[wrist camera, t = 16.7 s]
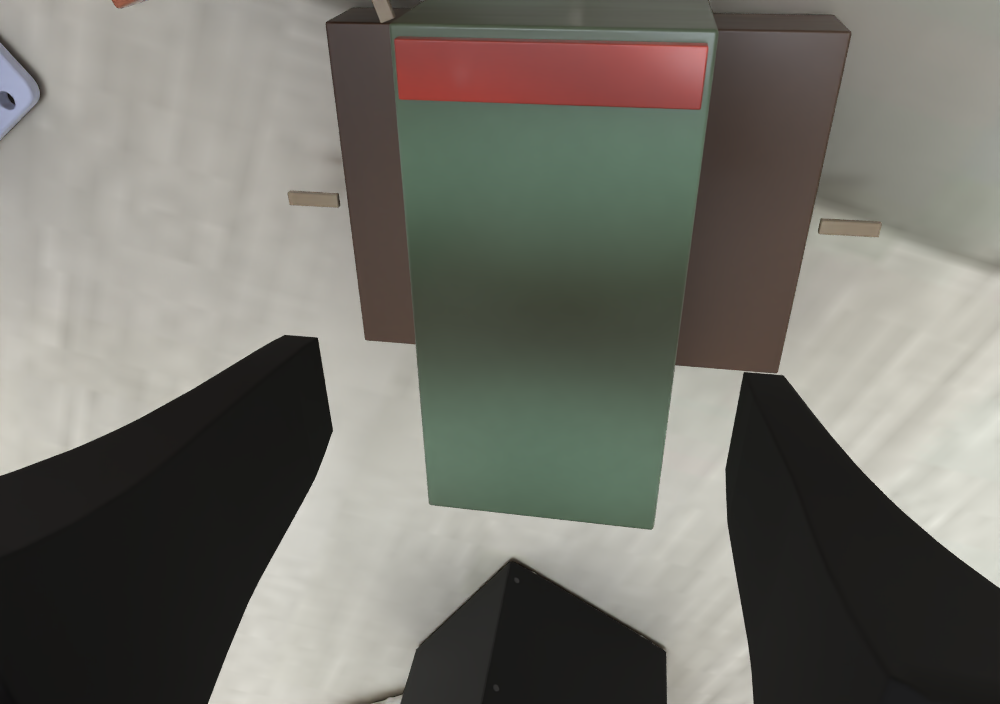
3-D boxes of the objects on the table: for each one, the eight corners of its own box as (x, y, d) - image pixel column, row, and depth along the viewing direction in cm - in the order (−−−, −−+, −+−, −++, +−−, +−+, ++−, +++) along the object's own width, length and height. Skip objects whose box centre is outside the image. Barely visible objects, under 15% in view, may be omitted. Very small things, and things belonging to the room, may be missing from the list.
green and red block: (654, 394, 23) (653, 538, 18) (472, 378, 24) (426, 513, 19) (703, -21, 17) (720, 32, 12) (457, -23, 18) (383, 25, 13)
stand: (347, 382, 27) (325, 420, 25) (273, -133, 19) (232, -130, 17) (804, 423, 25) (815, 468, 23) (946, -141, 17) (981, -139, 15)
